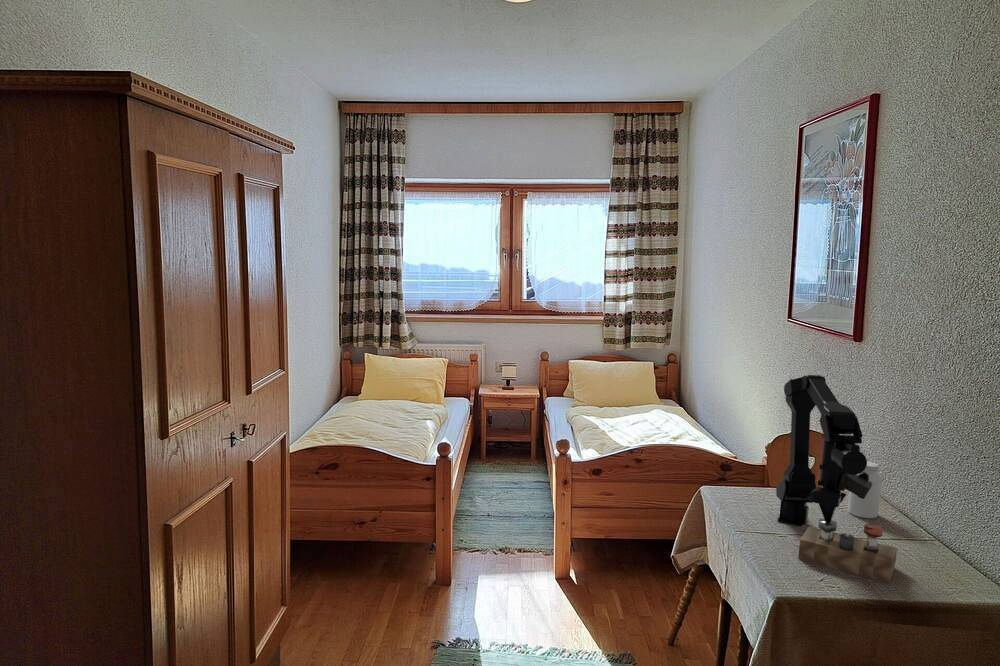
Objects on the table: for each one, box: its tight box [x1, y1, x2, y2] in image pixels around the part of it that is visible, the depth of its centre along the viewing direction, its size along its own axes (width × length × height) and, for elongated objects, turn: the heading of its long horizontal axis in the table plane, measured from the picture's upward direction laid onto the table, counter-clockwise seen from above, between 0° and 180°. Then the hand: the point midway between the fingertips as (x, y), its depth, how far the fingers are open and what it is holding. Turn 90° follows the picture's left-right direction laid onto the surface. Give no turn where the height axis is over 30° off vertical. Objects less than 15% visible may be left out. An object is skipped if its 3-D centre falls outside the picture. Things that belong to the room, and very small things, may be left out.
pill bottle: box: [847, 460, 883, 519], centre depth 210 cm, size 8×8×15 cm
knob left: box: [818, 518, 838, 542], centre depth 181 cm, size 4×4×7 cm
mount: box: [797, 526, 898, 584], centre depth 179 cm, size 20×10×5 cm, turn 56°
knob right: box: [863, 523, 884, 553], centre depth 175 cm, size 4×4×7 cm
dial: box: [839, 532, 855, 551], centre depth 176 cm, size 3×3×3 cm
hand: (827, 521), depth 181 cm, fingers closed, pressing on knob left
